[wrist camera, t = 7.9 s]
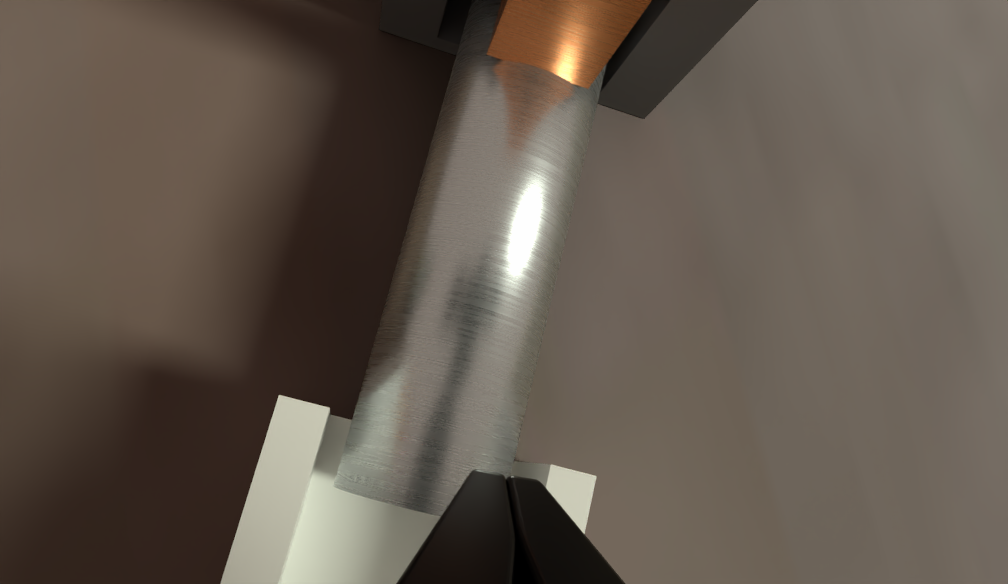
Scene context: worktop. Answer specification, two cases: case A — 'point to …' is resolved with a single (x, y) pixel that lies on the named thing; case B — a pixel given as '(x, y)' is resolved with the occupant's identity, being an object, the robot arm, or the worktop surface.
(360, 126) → the worktop surface
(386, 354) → the tube
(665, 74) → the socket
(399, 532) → the open tray
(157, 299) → the worktop surface
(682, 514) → the worktop surface
